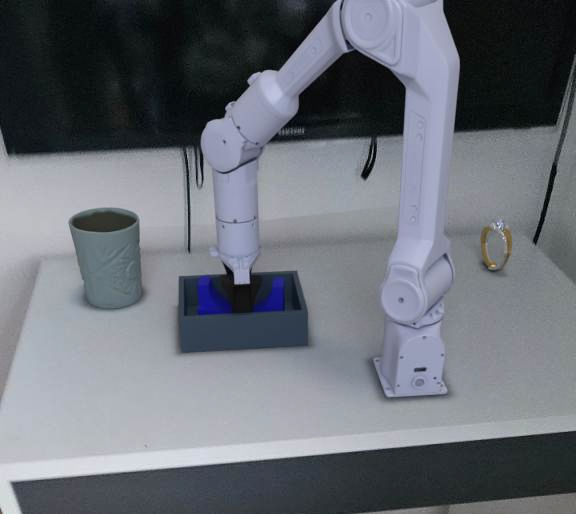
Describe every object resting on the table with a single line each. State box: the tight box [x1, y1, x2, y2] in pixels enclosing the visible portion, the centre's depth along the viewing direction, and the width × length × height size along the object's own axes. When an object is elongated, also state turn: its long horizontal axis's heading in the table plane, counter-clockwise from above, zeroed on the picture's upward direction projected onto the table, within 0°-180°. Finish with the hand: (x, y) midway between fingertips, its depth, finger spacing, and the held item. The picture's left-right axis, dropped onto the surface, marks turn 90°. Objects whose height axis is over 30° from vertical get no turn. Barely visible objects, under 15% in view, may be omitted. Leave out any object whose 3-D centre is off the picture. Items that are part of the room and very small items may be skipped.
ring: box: [480, 218, 513, 271], centre depth 123 cm, size 7×3×8 cm, turn 16°
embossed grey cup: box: [68, 207, 143, 310], centre depth 115 cm, size 10×10×12 cm
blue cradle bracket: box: [197, 276, 285, 315], centre depth 109 cm, size 12×4×6 cm, turn 86°
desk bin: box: [177, 270, 309, 353], centre depth 110 cm, size 14×18×5 cm
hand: (241, 310), depth 110 cm, fingers open, 7 cm apart
